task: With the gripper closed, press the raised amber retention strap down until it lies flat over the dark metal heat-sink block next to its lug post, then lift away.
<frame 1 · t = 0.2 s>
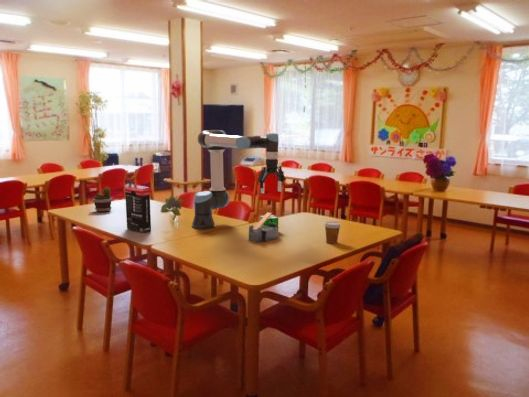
hand: (271, 192, 284), 27 cm above the table, fingers open, 13 cm apart
puzzle cube: (268, 232, 297), on the table
disposable coffee cup: (331, 242, 273), on the table
flowerpot: (103, 211, 353), on the table
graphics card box: (138, 230, 296), on the table
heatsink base: (261, 239, 278), on the table
strap: (262, 221, 277), point 11 cm above the table, hinge at 30.0°
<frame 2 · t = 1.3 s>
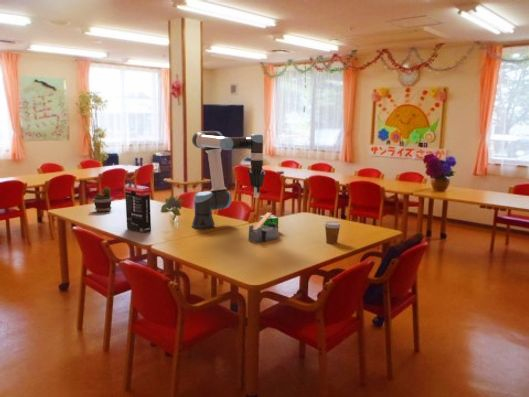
hand: (256, 197, 282), 24 cm above the table, fingers closed
nothing on the table moved.
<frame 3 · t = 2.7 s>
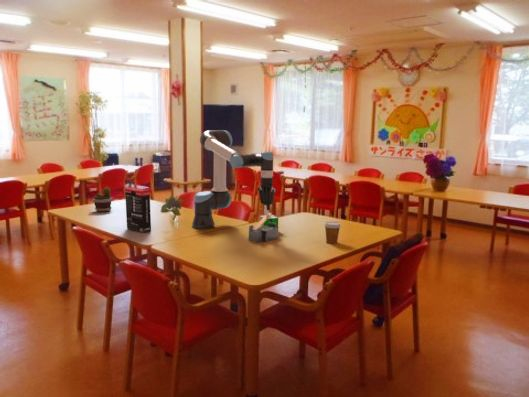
hand: (266, 215, 279), 14 cm above the table, fingers closed
strap: (262, 221, 277), point 11 cm above the table, hinge at 29.4°, touching gripper
everything else where it was.
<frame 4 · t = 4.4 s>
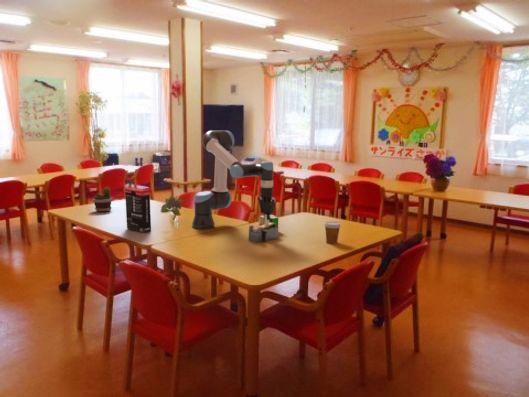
hand: (266, 224, 280), 8 cm above the table, fingers closed
strap: (263, 226, 278), point 8 cm above the table, hinge at 3.9°, touching gripper
everything else where it was.
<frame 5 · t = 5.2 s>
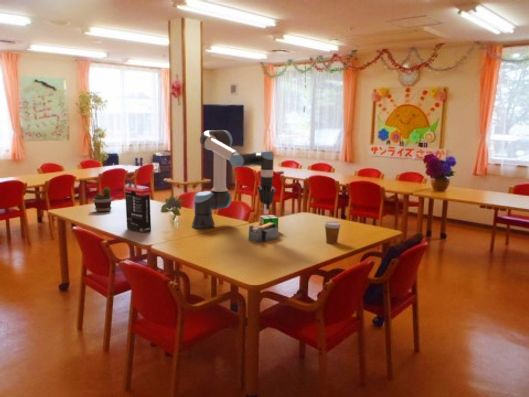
hand: (266, 214, 279), 15 cm above the table, fingers closed
strap: (263, 226, 278), point 8 cm above the table, hinge at 3.9°
everything else where it was.
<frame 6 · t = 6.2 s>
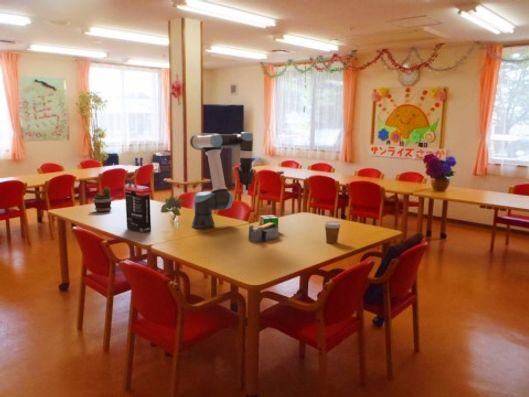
hand: (245, 194, 283), 26 cm above the table, fingers closed
nothing on the table moved.
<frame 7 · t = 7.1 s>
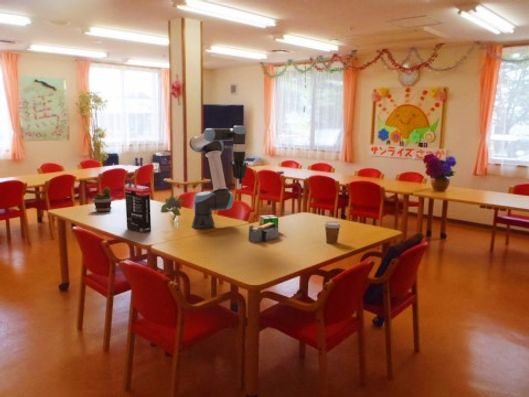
hand: (239, 188, 284), 29 cm above the table, fingers closed
nothing on the table moved.
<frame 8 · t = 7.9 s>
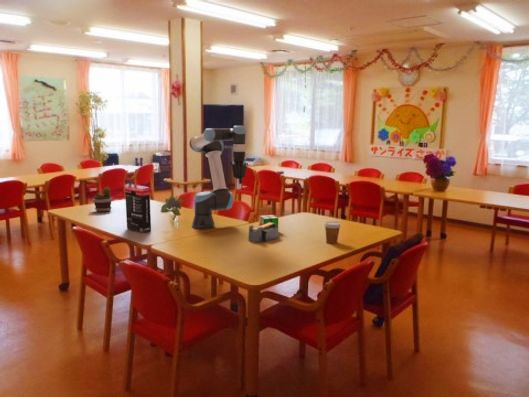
hand: (239, 188, 284), 29 cm above the table, fingers closed
nothing on the table moved.
at the end: strap at +4° (first picture: +30°) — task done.
